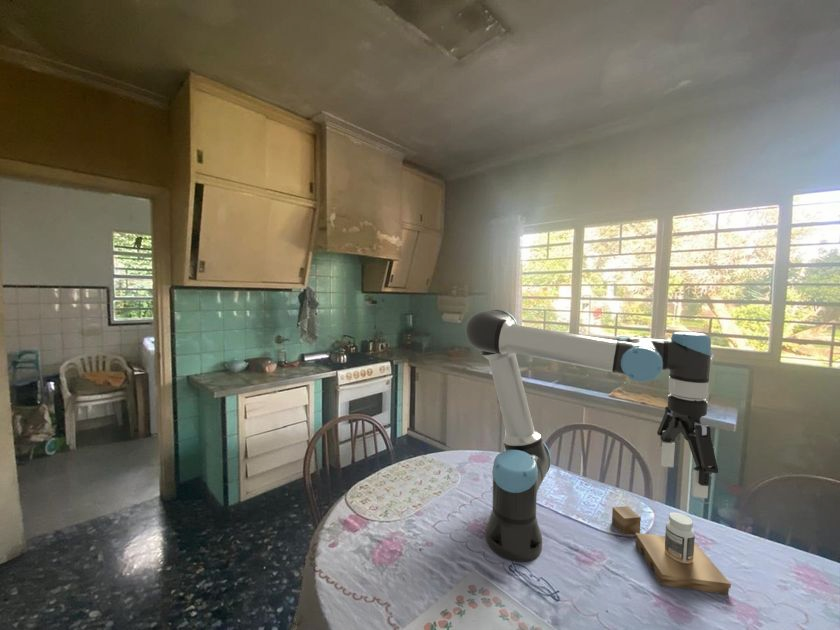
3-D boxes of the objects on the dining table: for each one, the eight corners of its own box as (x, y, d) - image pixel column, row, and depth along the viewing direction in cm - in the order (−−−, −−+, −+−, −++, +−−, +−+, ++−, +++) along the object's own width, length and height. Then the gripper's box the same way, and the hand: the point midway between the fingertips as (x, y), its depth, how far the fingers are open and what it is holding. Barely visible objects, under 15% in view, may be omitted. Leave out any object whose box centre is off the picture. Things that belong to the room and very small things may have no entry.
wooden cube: (623, 535, 96) (624, 518, 96) (611, 523, 101) (612, 507, 101) (639, 533, 97) (640, 517, 96) (627, 522, 101) (628, 506, 101)
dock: (661, 586, 79) (662, 574, 79) (634, 543, 93) (635, 532, 93) (729, 596, 77) (730, 583, 76) (691, 549, 90) (692, 539, 90)
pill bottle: (682, 548, 87) (685, 511, 86) (698, 565, 81) (701, 526, 81) (659, 546, 88) (661, 509, 87) (673, 563, 82) (676, 525, 81)
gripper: (744, 415, 69) (737, 514, 70) (675, 383, 93) (670, 457, 95) (703, 413, 70) (696, 510, 72) (645, 381, 95) (641, 454, 96)
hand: (682, 480), depth 83 cm, fingers open, 13 cm apart
